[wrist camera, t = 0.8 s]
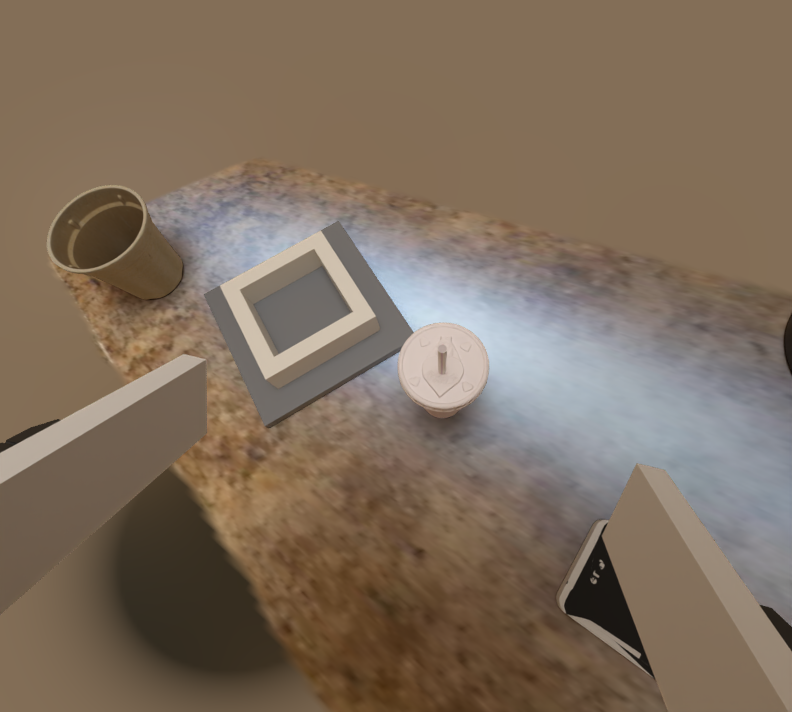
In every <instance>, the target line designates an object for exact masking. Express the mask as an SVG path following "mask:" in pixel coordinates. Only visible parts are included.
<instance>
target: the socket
mask: <svg viewBox="0 0 792 712" xmlns="http://www.w3.org/2000/svg"><path fill="white" fill-rule="evenodd" d="M204 296H205V298H206V300H207V302H208V304H209V307H210V309H211V311H212V313H213V315H214V317H215V319H216V322H217V324H218V326H219V328H220V330H221V332H222V334H223V337H224V339H225V341H226V343H227V345H228V347H229V350H230V352H231V354H232V356H233V358H234V360H235V362H236V365H237V367H238V369H239V371H240V373H241V375H242V377H243V380H244V382H245V384H246V386H247V388H248V390H249V393H250V395H251V397H252V399H253V401H254V403H255V405H256V408H257V410H258V412H259V414H260V416H261V418H262V421H263V423H264V425H265V426H266V427H268V428H270V427H272V426H274V425H275V424H277V423H279V422H280V421H282V420H284V419H285V418H287V417H289V416H291V415H292V414H294V413H296V412H297V411H299V410H301V409H302V408H304V407H306V406H308V405H309V404H311V403H313V402H314V401H316V400H318V399H319V398H321V397H323V396H324V395H326V394H328V393H330V392H331V391H333V390H335V389H336V388H338V387H340V386H341V385H343V384H345V383H347V382H348V381H350V380H352V379H353V378H355V377H357V376H358V375H360V374H362V373H364V372H365V371H367V370H369V369H370V368H372V367H374V366H375V365H377V364H379V363H380V362H382V361H384V360H386V359H387V358H389V357H391V356H392V355H394V354H396V353H397V352H399V351H401V348H402V346H403V345H404V343H405V342H406V340H407V339H408V338H409V337H410V336H411V335H412V334H413V333H414V332H413V331H412V329H411V328H410V326H409V325H408V323H407V322H406V320H405V319H404V317H403V316H402V315H401V313H400V312H399V310H398V309H397V307H396V306H395V304H394V303H393V301H392V300H391V298H390V297H389V295H388V294H387V292H386V291H385V289H384V288H383V286H382V285H381V283H380V282H379V280H378V279H377V277H376V276H375V274H374V273H373V271H372V270H371V268H370V267H369V265H368V264H367V262H366V261H365V259H364V258H363V256H362V255H361V253H360V252H359V251H358V249H357V248H356V246H355V245H354V243H353V242H352V240H351V239H350V237H349V236H348V234H347V233H346V231H345V230H344V228H343V227H342V225H341V224H340V222H339V221H337V222H336V223H334V224H332V225H330V226H328V227H326V228H325V229H323V230H321V231H319V232H317V233H315V234H314V235H312V236H310V237H308V238H306V239H304V240H303V241H301V242H299V243H297V244H295V245H293V246H292V247H290V248H288V249H286V250H284V251H282V252H281V253H279V254H277V255H275V256H273V257H271V258H270V259H268V260H266V261H264V262H262V263H260V264H259V265H257V266H255V267H253V268H251V269H249V270H248V271H246V272H244V273H242V274H240V275H239V276H237V277H235V278H233V279H231V280H229V281H228V282H226V283H224V284H222V285H220V286H218V287H217V288H215V289H213V290H211V291H209V292H207V293H206V294H204Z"/></svg>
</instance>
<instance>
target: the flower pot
mask: <svg viewBox="0 0 792 712" xmlns="http://www.w3.org/2000/svg"><path fill="white" fill-rule="evenodd" d="M47 251H48V254H49V256H50V258H51V259H52V261H53V262H54V263H55V264H56V265H57V266H59V267H60V268H62V269H64V270H66V271H69V272H72V273H77V274H84V275H87V276H94V277H96V278H98V279H100V280H102V281H105V282H107V283H109V284H111V285H113V286H115V287H118V288H120V289H122V290H124V291H126V292H128V293H130V294H132V295H135V296H136V297H138V298H141V299H145V300H148V299H154V298H161V297H164V296H165V295H167V294H169V293H170V292H171V291H172V290H173V289H175V287H176V286H177V285H178V284H179V282H180V280H181V278H182V268H183V263H182V260H181V258H180V257H179V256H178V255H177V253H176V252H175V251H174V250H173V248H172V247H171V246H170V244H169V243H168V242H167V241H166V239H165V238H164V237H163V235H162V234H161V233H160V231H159V230H158V229H157V227H156V226H155V225H154V223H153V222H152V220H151V217H150V215H149V213H148V210H147V207H146V204H145V202H144V201H143V199H142V198H141V197H140V196H139V195H138V194H137V193H136V192H135V191H133V190H131V189H129V188H127V187H124V186H119V185H106V186H101V187H97V188H94V189H90V190H88V191H86V192H84V193H82V194H80V195H78V196H77V197H75V198H74V199H73V200H72V201H70V202H69V203H68V204H67V205H66V206H65V207H64V208H63V209H62V210H61V211H60V212H59V213H58V215H57V216H56V218H55V219H54V221H53V223H52V225H51V227H50V230H49V233H48V236H47Z"/></svg>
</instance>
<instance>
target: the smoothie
mask: <svg viewBox="0 0 792 712" xmlns="http://www.w3.org/2000/svg"><path fill="white" fill-rule="evenodd" d="M488 374H489V359H488V355H487V352H486V349H485V347H484V345H483V344H482V342H481V341H480V340H479V338H478V337H477V336H476V335H475V334H473V333H472V332H471V331H469V330H468V329H466V328H464V327H462V326H459V325H456V324H452V323H434V324H430V325H427V326H425V327H422V328H420V329H419V330H417V331H416V332H414V333H413V334H412V335H411V336H410V337H409V338H408V339H407V340H406V342H405V343H404V345H403V346H402V348H401V351H400V354H399V358H398V375H399V379H400V383H401V386H402V387H403V389H404V391H405V392H406V394H407V395H408V396H409V397H410V398H411V399H412V400H413V401H414V402H415V403H416V404H418V405H420V406H422V407H424V408H425V410H426V411H427V412H428V413H429V414H431V415H432V416H434V417H437V418H448V417H451V416H453V415H454V414H456V413H457V412H458V411H459V410H460V409H462V408H464V407H466V406H467V405H469V404H471V403H472V402H473V401H474V400H475V399H476V398H477V397H478V396H479V395H480V394H481V393H482V391H483V389H484V387H485V385H486V383H487V378H488Z"/></svg>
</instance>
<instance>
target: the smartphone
mask: <svg viewBox="0 0 792 712" xmlns="http://www.w3.org/2000/svg"><path fill="white" fill-rule="evenodd" d="M608 522H609V520H597V521H596V522H594V524H593V525H592V527H591V529H590V531H589V533H588V535H587V537H586V539H585V541H584V543H583V544H582V546H581V548H580V550H579V552H578V554H577V556H576V558H575V560H574V562H573V564H572V566H571V567H570V569H569V571H568V573H567V575H566V577H565V579H564V581H563V583H562V585H561V587H560V589H559V590H558V592H557V595H556V601H557V604H558V606H559V608H560V609H561V610H562V611H564V613H566V614H567V615H568V616H570V617H571V618H572V619H574V620H575V621H576V622H578V623H579V624H580V625H582V626H583V627H585V628H586V629H587V630H589V631H590V632H591V633H593V634H594V635H595V636H597V637H598V638H600V639H601V640H602V641H604V642H605V643H606V644H608V645H609V646H611V647H612V648H613V649H615V650H616V651H617V652H619V653H620V654H621V655H623V656H624V657H626V658H627V659H628V660H630V661H631V662H632V663H634V664H635V665H636V666H638V667H639V668H641V669H642V670H643V671H645V672H646V673H647V674H649V675H650V676H651V677H653V678H654V679H655V677H654V674H653V671H652V669H651V666H650V663H649V661H648V658H647V655H646V653H645V650H644V647H643V645H642V642H641V639H640V637H639V634H638V631H637V629H636V626H635V623H634V621H633V618H632V615H631V613H630V610H629V607H628V605H627V602H626V599H625V597H624V594H623V591H622V589H621V586H620V583H619V581H618V578H617V575H616V573H615V570H614V567H613V565H612V562H611V559H610V557H609V554H608V551H607V549H606V546H605V543H604V541H603V538H602V535H603V532H604V530H605V528H606V526H607V524H608ZM568 579H569V580H568Z"/></svg>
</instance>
